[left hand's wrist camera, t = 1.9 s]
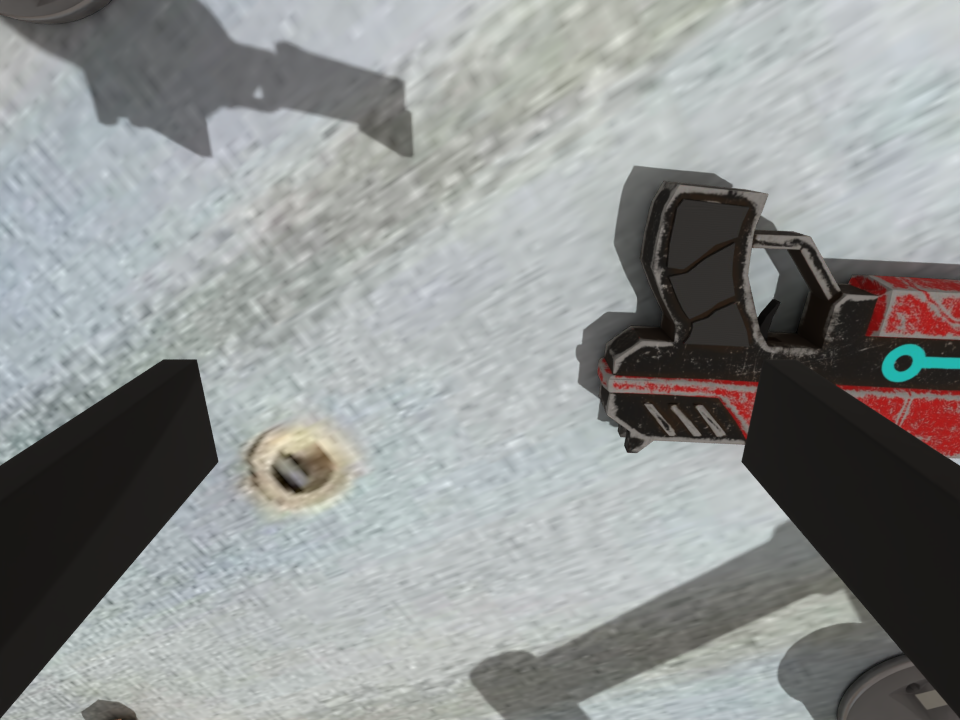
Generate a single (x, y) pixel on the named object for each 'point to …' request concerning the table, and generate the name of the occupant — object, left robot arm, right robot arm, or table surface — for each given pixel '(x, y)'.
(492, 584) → the table surface
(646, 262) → the gun
